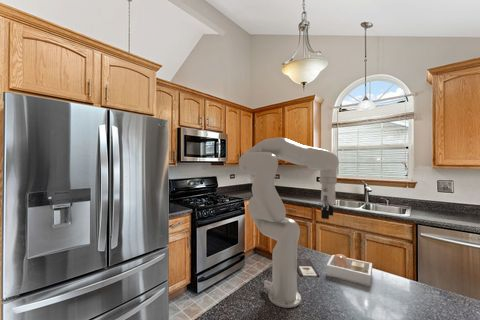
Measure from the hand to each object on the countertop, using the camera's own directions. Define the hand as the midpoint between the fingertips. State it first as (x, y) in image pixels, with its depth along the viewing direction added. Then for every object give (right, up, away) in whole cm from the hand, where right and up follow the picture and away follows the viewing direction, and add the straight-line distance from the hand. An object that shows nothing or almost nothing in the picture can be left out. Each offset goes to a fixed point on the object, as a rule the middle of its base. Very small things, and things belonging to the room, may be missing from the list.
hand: (327, 216), depth 107 cm
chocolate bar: (-8, -29, +8) cm, 31 cm away
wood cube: (+14, -27, -1) cm, 30 cm away
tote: (+11, -28, +1) cm, 30 cm away
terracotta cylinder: (+8, -27, +3) cm, 28 cm away
